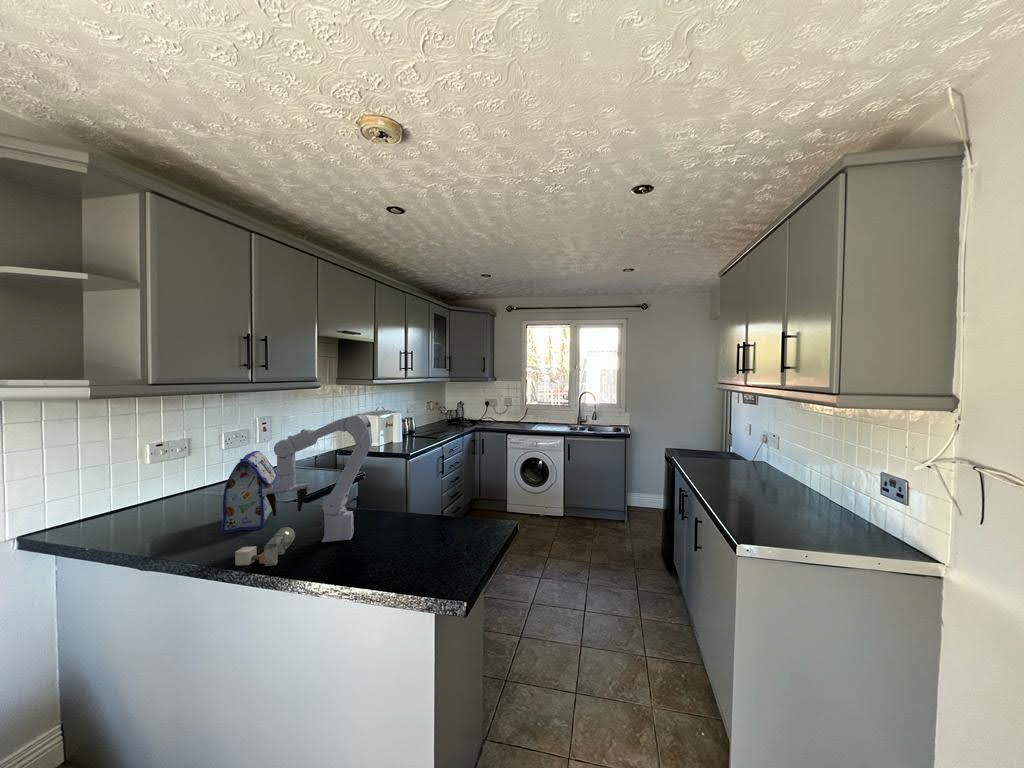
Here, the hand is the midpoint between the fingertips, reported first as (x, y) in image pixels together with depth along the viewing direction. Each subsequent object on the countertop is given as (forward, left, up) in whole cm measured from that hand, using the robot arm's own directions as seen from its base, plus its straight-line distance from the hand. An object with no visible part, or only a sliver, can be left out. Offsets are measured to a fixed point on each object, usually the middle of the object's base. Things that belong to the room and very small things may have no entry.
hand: (287, 513), depth 146 cm
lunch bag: (+19, -25, -10) cm, 33 cm away
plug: (+5, +17, -9) cm, 20 cm away
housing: (0, +12, -9) cm, 16 cm away
